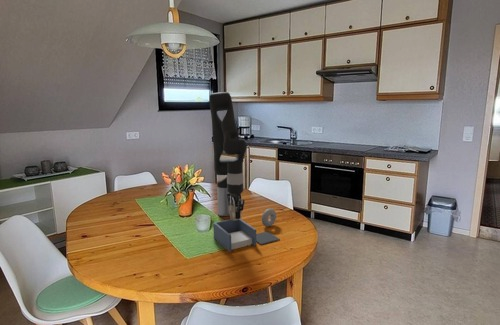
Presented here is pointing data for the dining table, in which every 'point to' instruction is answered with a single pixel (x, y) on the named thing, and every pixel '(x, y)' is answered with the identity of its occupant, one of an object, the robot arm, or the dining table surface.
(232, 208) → the maple block
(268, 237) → the rubber mat
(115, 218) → the dining table surface
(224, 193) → the robot arm
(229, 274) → the dining table surface
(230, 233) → the slot box
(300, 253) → the dining table surface
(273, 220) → the donut
